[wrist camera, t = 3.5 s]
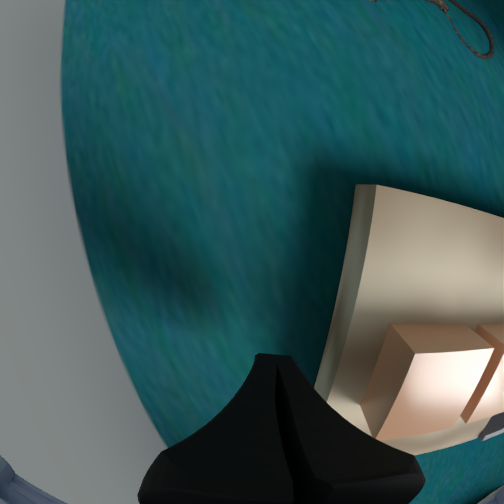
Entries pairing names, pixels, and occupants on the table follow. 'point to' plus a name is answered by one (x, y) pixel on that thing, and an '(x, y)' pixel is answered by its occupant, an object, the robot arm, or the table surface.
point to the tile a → (423, 378)
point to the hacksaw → (443, 6)
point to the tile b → (488, 378)
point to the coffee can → (490, 495)
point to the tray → (493, 427)
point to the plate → (408, 292)
